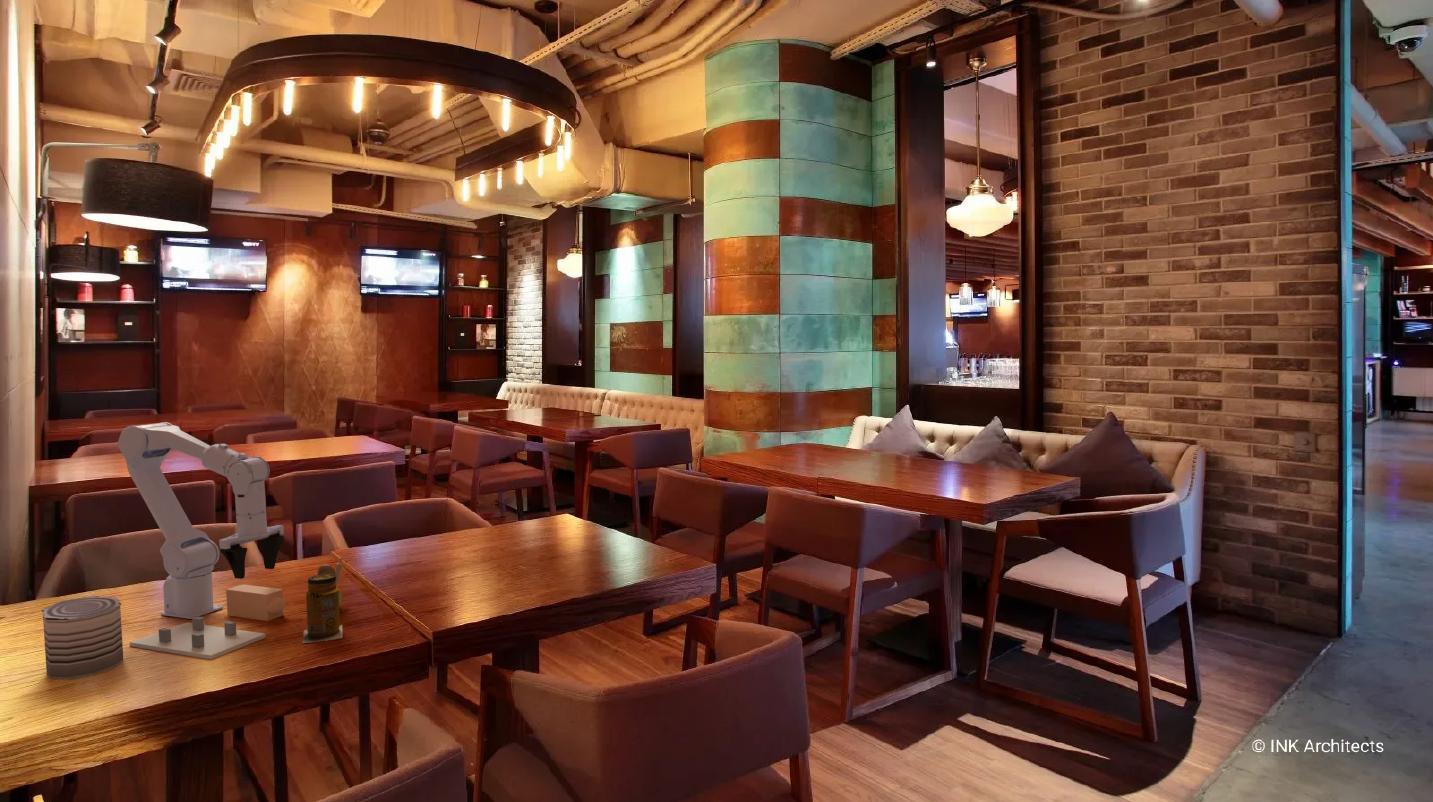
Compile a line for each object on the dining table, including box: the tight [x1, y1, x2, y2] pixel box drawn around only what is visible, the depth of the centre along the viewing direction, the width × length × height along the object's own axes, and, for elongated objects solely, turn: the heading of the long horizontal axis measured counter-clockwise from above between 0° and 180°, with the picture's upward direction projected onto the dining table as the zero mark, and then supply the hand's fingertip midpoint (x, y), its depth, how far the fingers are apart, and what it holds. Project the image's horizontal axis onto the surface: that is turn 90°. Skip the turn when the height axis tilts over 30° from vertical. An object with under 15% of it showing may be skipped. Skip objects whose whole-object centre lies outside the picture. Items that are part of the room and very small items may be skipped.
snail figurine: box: [317, 557, 343, 604], centre depth 178 cm, size 5×6×12 cm
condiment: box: [302, 574, 344, 644], centre depth 162 cm, size 7×8×12 cm
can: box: [41, 595, 124, 681], centre depth 146 cm, size 11×11×12 cm
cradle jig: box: [129, 616, 266, 660], centre depth 159 cm, size 22×12×3 cm, turn 71°
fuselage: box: [225, 584, 286, 622], centre depth 174 cm, size 14×4×6 cm, turn 70°
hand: (255, 573), depth 174 cm, fingers open, 7 cm apart
